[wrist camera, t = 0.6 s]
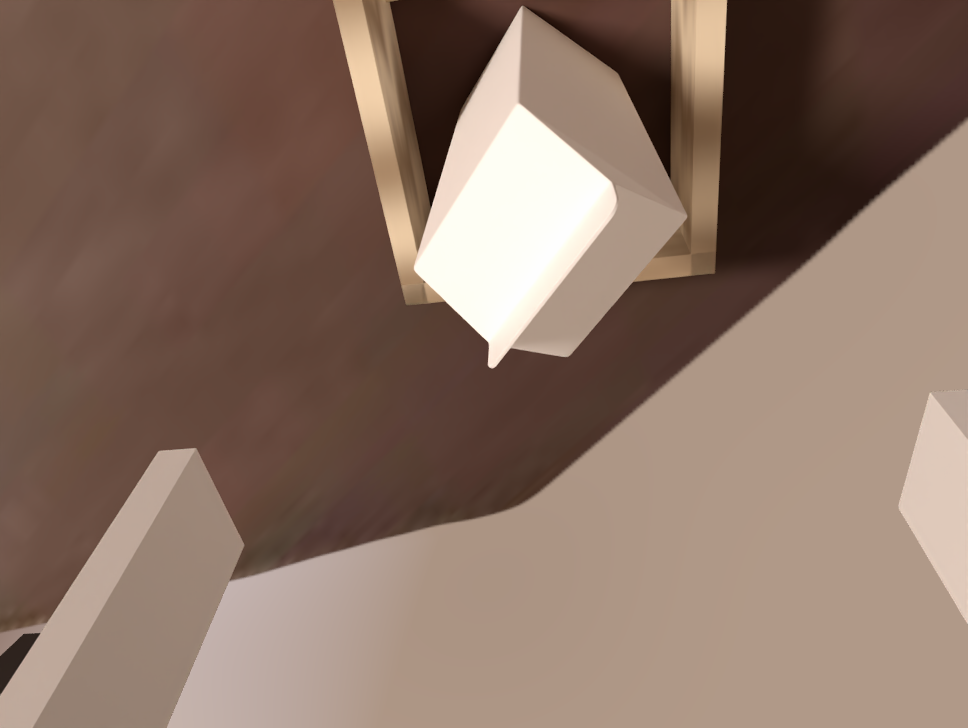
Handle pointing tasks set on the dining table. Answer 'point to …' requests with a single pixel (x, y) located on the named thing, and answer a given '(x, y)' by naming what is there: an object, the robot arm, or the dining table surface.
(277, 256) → the dining table surface
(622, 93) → the milk
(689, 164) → the shelf bay
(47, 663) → the robot arm
